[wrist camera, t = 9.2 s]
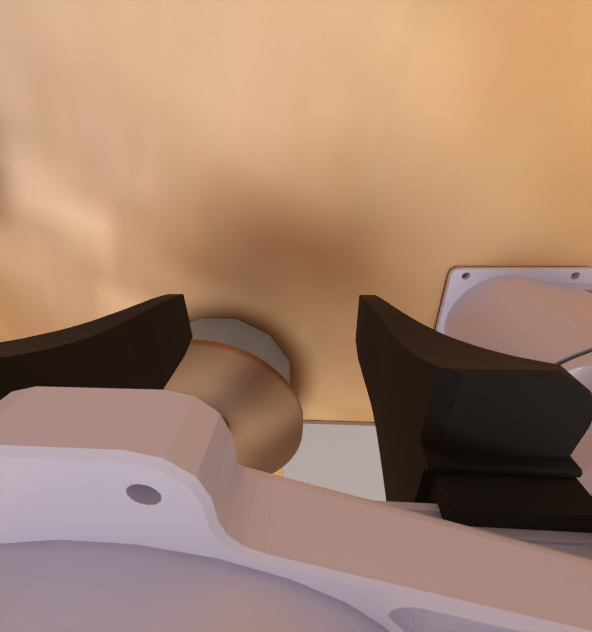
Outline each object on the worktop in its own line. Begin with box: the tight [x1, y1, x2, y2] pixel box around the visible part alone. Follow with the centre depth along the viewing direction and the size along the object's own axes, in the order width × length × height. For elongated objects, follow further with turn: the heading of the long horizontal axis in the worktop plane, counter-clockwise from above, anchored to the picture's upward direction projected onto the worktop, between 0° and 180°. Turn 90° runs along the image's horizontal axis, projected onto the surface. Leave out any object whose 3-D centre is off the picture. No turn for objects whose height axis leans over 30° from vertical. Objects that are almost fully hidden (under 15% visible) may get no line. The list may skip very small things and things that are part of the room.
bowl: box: [190, 318, 291, 385], centre depth 24 cm, size 11×11×4 cm
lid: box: [163, 340, 303, 474], centre depth 20 cm, size 14×14×4 cm
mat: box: [282, 420, 386, 501], centre depth 31 cm, size 17×17×1 cm
